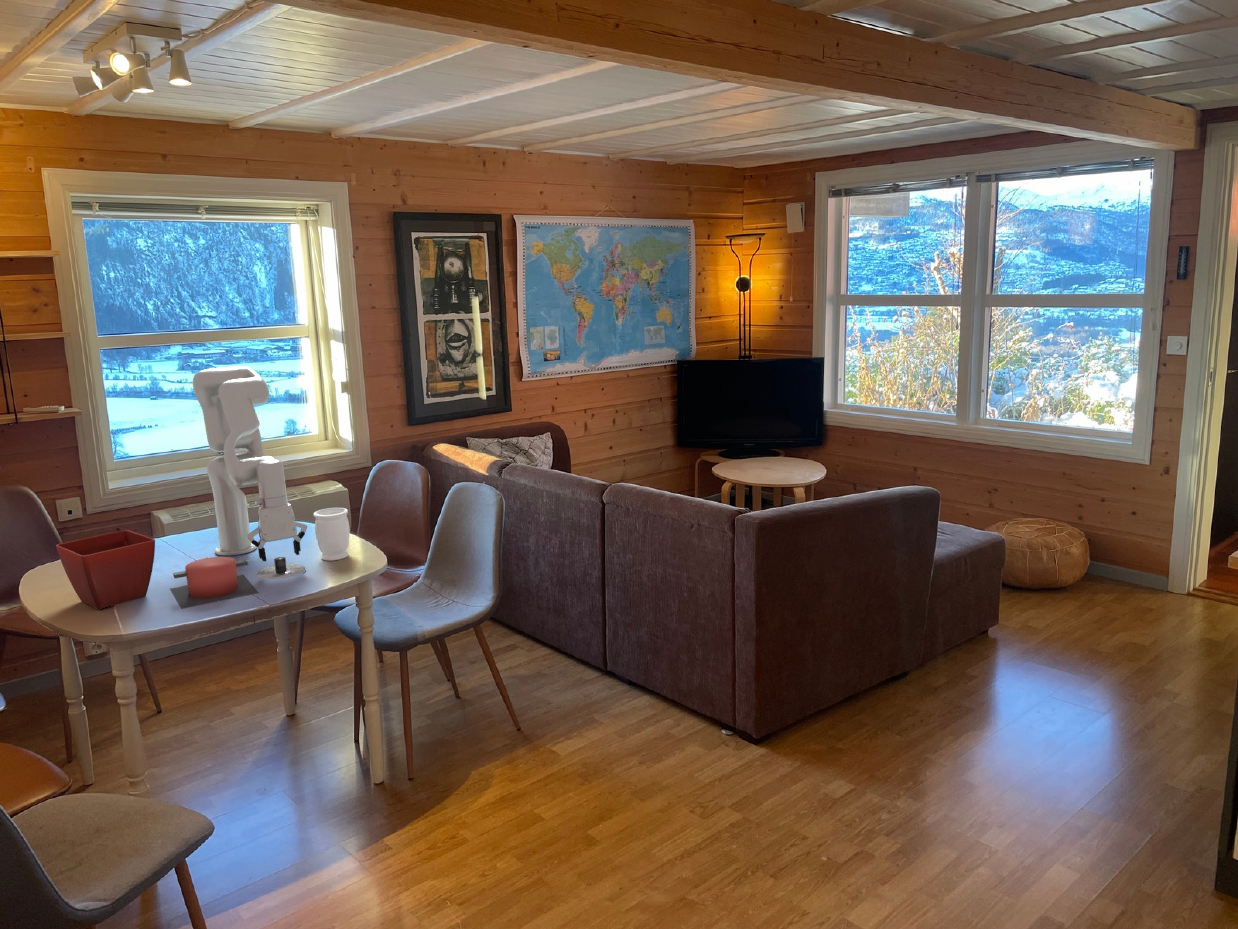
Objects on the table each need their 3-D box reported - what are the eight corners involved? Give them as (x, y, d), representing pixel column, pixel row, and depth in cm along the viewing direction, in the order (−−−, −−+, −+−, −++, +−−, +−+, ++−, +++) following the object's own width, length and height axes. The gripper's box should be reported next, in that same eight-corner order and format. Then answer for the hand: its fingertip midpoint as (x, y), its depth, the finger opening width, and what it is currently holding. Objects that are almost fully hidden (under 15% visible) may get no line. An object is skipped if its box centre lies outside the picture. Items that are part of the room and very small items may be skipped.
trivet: (170, 590, 260) (169, 588, 259) (243, 576, 270) (243, 574, 270) (181, 610, 243) (181, 608, 243) (259, 594, 254) (258, 592, 254)
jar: (345, 562, 282) (341, 515, 279) (313, 562, 282) (308, 516, 279) (356, 551, 292) (352, 506, 289) (324, 552, 293) (320, 507, 289)
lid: (251, 573, 275) (250, 557, 274) (298, 564, 282) (297, 548, 281) (262, 585, 263) (260, 569, 262) (311, 575, 271) (309, 559, 270)
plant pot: (134, 583, 267) (126, 528, 263) (164, 596, 255) (156, 539, 251) (63, 602, 252) (54, 544, 249) (91, 617, 240) (82, 556, 237)
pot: (173, 591, 257) (169, 564, 255) (244, 577, 267) (241, 552, 266) (180, 604, 246) (177, 576, 245) (254, 589, 257) (251, 562, 255)
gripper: (246, 508, 260) (253, 565, 263) (307, 499, 269) (313, 554, 273) (240, 504, 266) (247, 560, 269) (300, 495, 276) (306, 549, 279)
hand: (280, 557), depth 271 cm, fingers open, 9 cm apart
